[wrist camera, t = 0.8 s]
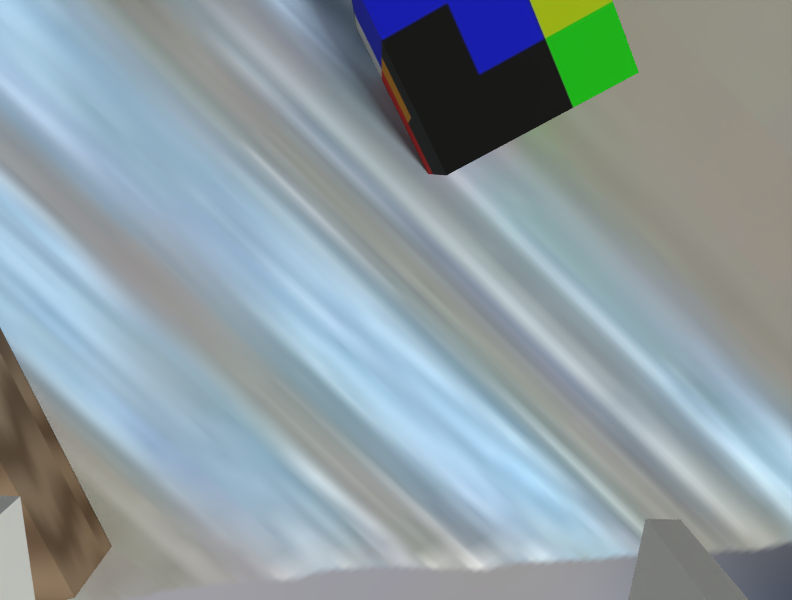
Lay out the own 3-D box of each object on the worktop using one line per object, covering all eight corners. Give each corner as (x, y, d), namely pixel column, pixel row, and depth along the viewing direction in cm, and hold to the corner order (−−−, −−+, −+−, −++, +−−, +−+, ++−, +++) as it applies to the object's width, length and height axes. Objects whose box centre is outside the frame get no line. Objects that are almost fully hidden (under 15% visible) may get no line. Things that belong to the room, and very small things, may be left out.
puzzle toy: (356, 28, 32) (345, -34, 22) (500, -54, 31) (554, -157, 21) (428, 173, 34) (446, 175, 24) (563, 101, 33) (638, 72, 23)
